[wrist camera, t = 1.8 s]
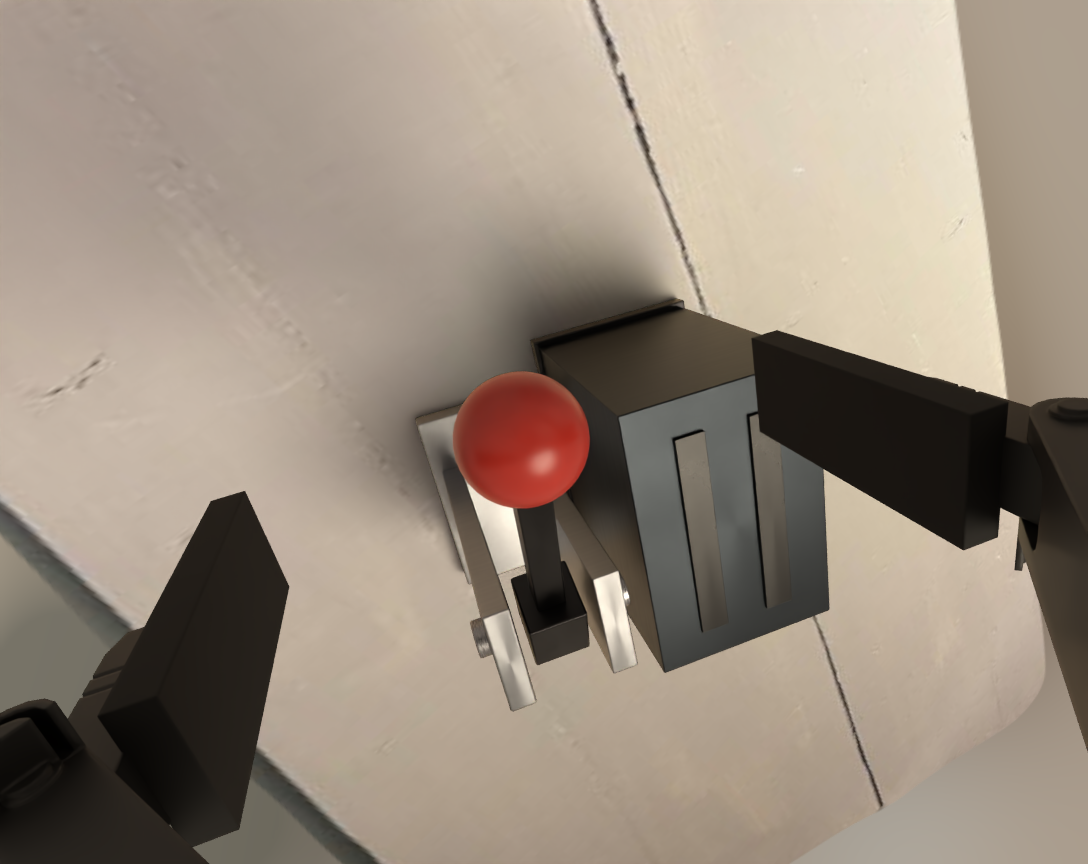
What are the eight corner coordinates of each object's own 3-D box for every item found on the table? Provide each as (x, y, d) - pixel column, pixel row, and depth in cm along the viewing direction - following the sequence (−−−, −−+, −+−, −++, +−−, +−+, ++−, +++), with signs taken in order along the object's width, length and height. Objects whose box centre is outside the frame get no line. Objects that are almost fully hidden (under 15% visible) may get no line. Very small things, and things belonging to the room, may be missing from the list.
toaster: (529, 339, 33) (611, 411, 22) (677, 298, 34) (826, 345, 23) (576, 540, 37) (662, 683, 26) (703, 497, 39) (836, 616, 28)
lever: (426, 365, 16) (458, 466, 14) (557, 328, 17) (611, 419, 14) (498, 604, 26) (523, 688, 23) (579, 576, 26) (613, 654, 24)
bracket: (414, 417, 32) (443, 555, 20) (525, 385, 33) (618, 496, 21) (465, 573, 36) (516, 771, 24) (562, 540, 37) (661, 713, 25)
